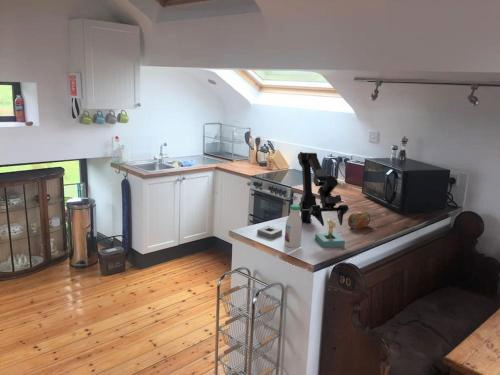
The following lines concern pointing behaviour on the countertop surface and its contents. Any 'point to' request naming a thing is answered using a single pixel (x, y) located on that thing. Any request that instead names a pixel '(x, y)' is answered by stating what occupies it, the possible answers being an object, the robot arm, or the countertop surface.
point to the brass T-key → (330, 228)
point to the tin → (359, 220)
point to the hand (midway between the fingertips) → (332, 225)
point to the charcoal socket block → (269, 232)
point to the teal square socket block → (329, 240)
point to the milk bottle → (293, 228)
